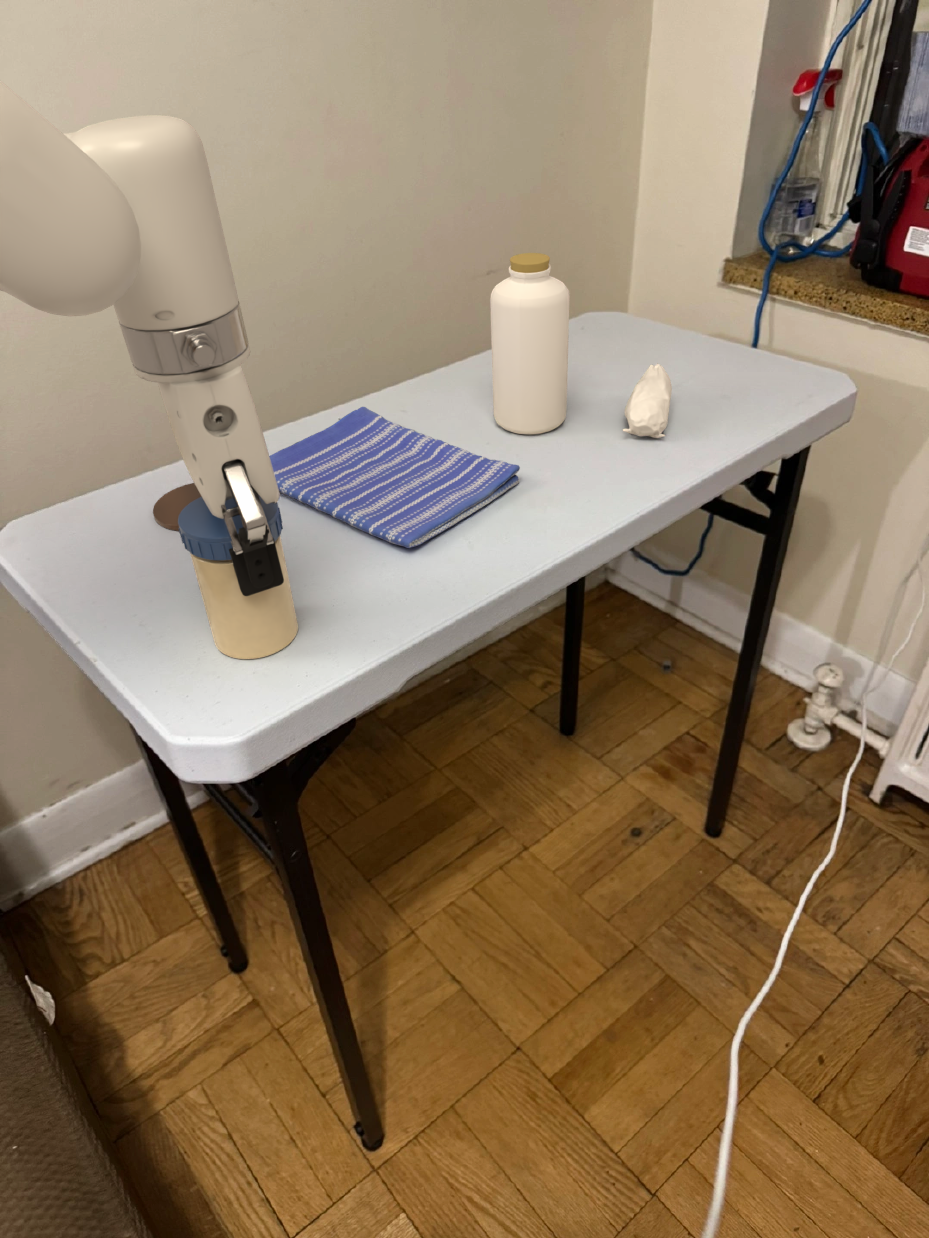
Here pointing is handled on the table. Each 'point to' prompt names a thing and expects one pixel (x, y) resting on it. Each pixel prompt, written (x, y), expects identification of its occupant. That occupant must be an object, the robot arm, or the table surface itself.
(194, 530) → the lid
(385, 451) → the dish towel
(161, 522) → the coaster
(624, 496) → the table surface
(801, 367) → the table surface
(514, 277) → the potion bottle
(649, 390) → the bird figurine
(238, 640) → the jar
